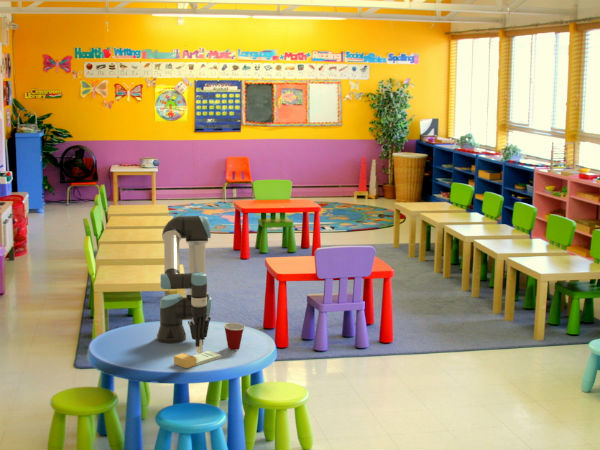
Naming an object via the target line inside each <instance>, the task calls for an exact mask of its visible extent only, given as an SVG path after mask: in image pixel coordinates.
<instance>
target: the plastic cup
mask: <svg viewBox="0 0 600 450" xmlns="http://www.w3.org/2000/svg"><path fill="white" fill-rule="evenodd" d="M223 328H224V331H225V338H226V344H227V348H228V349H229V350H231V351H235V350H239V349H240V347H241V342H242V339H243V338H242V337H243V333H244V330H245V328H246V326H245V325H244V324H242V323H238V322H237V323H236V322H227V323H225V324H223Z"/></svg>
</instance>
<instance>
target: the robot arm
mask: <svg viewBox="0 0 600 450" xmlns="http://www.w3.org/2000/svg"><path fill="white" fill-rule="evenodd" d="M211 235H212V234H211V227H210V221H209V218H208V217H207V216H206V215H205V216H203V215H191V216H190V215H187V216H182V215H179V216H174V217H173V218H172V219H169V221H168V222H167V223H166V224H165V226H164V227H163V230H162V234H161V238H162V239H161V240H162V241H163V243H164V244H163V246H164V247H163V248H164V249H163V250H164V252H163V257H164V259H163V260H164V262H163V263H164V265H163V266H164V267H163V269H164V272H163V273H161V274H160V288H161V289H162V290H186V289H187V290H188V291H187V292H186V294H185V295H186V297H183V295H182V294H180V293H173V294H168V295H167V294H166V295H164V296H163V297H161V298H160V300H159V328H158V331H157V335H156V340H157V342H159V343H163V344H178V343H182V342H184V341H186V339H187V334H186V331H185V328H184V325H183V320H184V321H187V325H189V326H188V327H189V330H190V335H191V339H192V340H195V347H196V354H200V353H203V352H204V351H203V346H204V340H205V339H206V338H207V336H208V332H209V324H210V322H211V319H212V318H211V316H210V315H211V310H212V296H210V294H209V292H208V275H207V274H206V270H207V269H206V245H207V244H208V242H209V239H211ZM182 239H185V243H186V244H187V245H188V273H187V272H186V273H181V271H180V270H181V267H180V266H181V263H180V262H181V261H180V241H181V240H182Z"/></svg>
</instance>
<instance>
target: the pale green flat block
mask: <svg viewBox="0 0 600 450" xmlns="http://www.w3.org/2000/svg"><path fill="white" fill-rule="evenodd" d="M192 356H194V357H196V365H195V367H196V366H199V365H203V364H206V363H209V362H212V361H216V360H218V359H221V358H222V354H220V353H217V352H214V351H211V350H206V351H203V353H196V354H194V355H192Z"/></svg>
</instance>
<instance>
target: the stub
mask: <svg viewBox="0 0 600 450" xmlns="http://www.w3.org/2000/svg"><path fill="white" fill-rule="evenodd" d="M173 364H174V365H176V366H179V367H182V368H184V369H189V368H192V367H196V357H194V356H193V355H191V354H187V353H186V352H181V353H179V354H176V355H174V356H173Z"/></svg>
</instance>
